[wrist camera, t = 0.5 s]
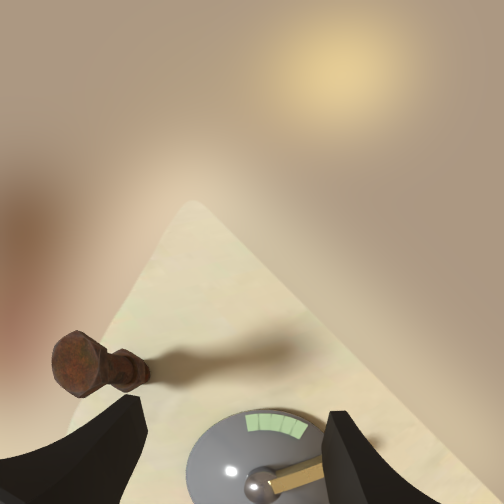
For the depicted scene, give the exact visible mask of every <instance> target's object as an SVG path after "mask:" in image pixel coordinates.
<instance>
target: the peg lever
mask: <svg viewBox="0 0 504 504" xmlns="http://www.w3.org/2000/svg"><path fill="white" fill-rule="evenodd" d="M323 477H324V473H323V467H322V454H321V455H320V456H317V457H315V458H312V459H309V460H307V461H304V462H301V463H298V464H295V465H293V466H290V467H287V468H284V469H281V470H277V471H276V470H274V469H272V468H270V467H257V468H255V469H253V470H251V471H250V472H249V473H248V475H247V476H246V480H245V485H244V493H245V495H246V497H247V498H248V499H249V500H250V501H251V502H253V503H256V504H270V503H273V502H274V501H276V500H277V499H278V498H279V497H280V495H281V493H282V492H283V491H287V490H290V489H293V488H296V487H299V486H302V485H304V484H307V483H310V482H313V481H316V480H318V479H321V478H323Z"/></svg>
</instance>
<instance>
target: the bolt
mask: <svg viewBox="0 0 504 504" xmlns="http://www.w3.org/2000/svg"><path fill="white" fill-rule="evenodd" d="M52 371H53V375H54V379H55V380H56V381H57V383H58V384H59V385H60V386H62V387H63V388H64V389H65V390H66V391H68V392H69V393H71V394H72V395H74V396H75V397H77V398H85V397H87V396H89V395H90V394H92V393H93V392H95V391H97V390H98V389H100V388H101V387H103V386H104V385H106V384H111V385H112V386H113V387H115V388H117V389H118V390H120V391H122V392H124V393H125V392H130V391H132V390H134V389H135V388H137V387H138V386H140V385H142V384H144V383H146V382H147V381H148V380H149V378H150V370H149V367H148V366H147V364H146V363H145V362H144V360H142V359H141V358H140V357H138V356H136V355H135V354H133V353H131V352H129V351H128V350H126V349H120V350H118V351H116V352H114V353H113V354H110V353H107V348H105V347H104V346H102V345H101V344H99V343H97V342H96V341H95V340H93V339H92V338H90V337H89V336H87V335H86V334H85V333H83V332H81V331H78V330H76V331H74V332H71V333H69V334H68V335H66V336H65V337H63V338H62V339H60V340H59V341H58V342H57V343H56V345H55V346H54V349H53V353H52Z"/></svg>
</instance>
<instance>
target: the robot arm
mask: <svg viewBox="0 0 504 504" xmlns="http://www.w3.org/2000/svg"><path fill="white" fill-rule="evenodd" d="M147 434H148V429H147V425H146V421H145V417H144V413H143V409H142V405H141V400H140V397H138V396H133V395H128V394H125V395H124V396H122V397H121V398H120V399H119V400H117V401H116V402H115V403H113V404H112V405H111V406H110V407H108V408H107V409H106V410H104V411H103V412H102V413H100V414H99V415H98V416H96V417H95V418H94V419H92V420H91V421H89V422H88V423H87V424H85V425H83V426H82V427H80V428H79V429H77V430H76V431H74V432H73V433H71V434H69V435H68V436H66V437H64V438H62V439H60V440H58V441H56V442H54V443H52V444H50V445H48V446H45V447H43V448H40V449H37V450H35V451H32V452H29V453H26V454H23V455H19V456H15V457H11V458H6V459H0V504H119V503H120V500H121V497H122V495H123V492H124V490H125V488H126V486H127V483H128V481H129V479H130V477H131V475H132V473H133V471H134V468H135V466H136V464H137V462H138V460H139V458H140V455H141V453H142V450H143V447H144V444H145V441H146V437H147ZM321 451H322V467H323V473H324V478H325V483H326V489H327V494H328V499H329V504H441V503H439V502H437V501H435V500H433V499H432V498H430V497H428V496H427V495H425V494H424V493H422V492H421V491H419V490H418V489H416V488H415V487H414V486H412V485H411V484H410V483H408V482H407V481H406V480H405V479H404V478H402V477H401V476H400V475H399V474H398V473H397V472H396V471H395V470H394V469H393V468H392V467H391V466H390V465H389V464H388V463H387V462H386V461H385V460H384V459H383V458H382V457H381V456H380V455H379V454H378V452H377V451H376V450H375V449H374V448H373V446H372V445H371V444H370V443H369V442H368V440H367V439H366V438H365V436H364V435H363V434H362V432H361V431H360V430H359V428H358V427H357V426H356V424H355V423H354V421H353V420H352V418H351V417H350V415H349V414H348V412H347V411H330V413H329V417H328V421H327V425H326V429H325V433H324V437H323V441H322V444H321Z"/></svg>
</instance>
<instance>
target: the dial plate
mask: <svg viewBox="0 0 504 504" xmlns="http://www.w3.org/2000/svg"><path fill="white" fill-rule="evenodd" d="M323 437H324V433H323V432H322V431H321V430H320V429H319V428H317V427H316V426H315V425H313V424H312V423H311V422H309V421H307V420H305V419H304V418H302V417H300V416H297V415H294V414H292V413H288V412H284V411H279V410H272V409H259V410H249V411H244V412H240V413H237V414H234V415H231V416H229V417H227V418H225V419H222V420H221V421H219V422H218V423H216V424H214V425H213V426H212V427H211V428H209V429H208V430H207V431H206V432H205V433H204V434H203V435H202V436H201V437H200V438H199V439H198V441H197V442H196V444H195V445H194V447H193V449H192V451H191V453H190V455H189V458H188V461H187V467H186V483H187V488H188V491H189V494H190V497H191V499H192V501H193V503H194V504H256V503H253V502H251V501H250V500H249V499H248V498H247V497H246V495H245V493H244V485H245V480H246V476H247V475H248V473H249V472H250V471H251V470H253V469H255V468H257V467H270V468H272V469H274V470H276V471H277V470H281V469H284V468H287V467H290V466H293V465H295V464H298V463H301V462H304V461H307V460H309V459H312V458H315V457H317V456H320V455H321V454H322V451H321V444H322V441H323ZM270 504H329V499H328V494H327V489H326V483H325V478H324V477H323V478H321V479H318V480H316V481H313V482H310V483H307V484H304V485H302V486H299V487H296V488H293V489H290V490H287V491H283V492H282V493H281V495H280V497H279V498H278V499H277V500H276V501H274V502H273V503H270Z"/></svg>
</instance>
